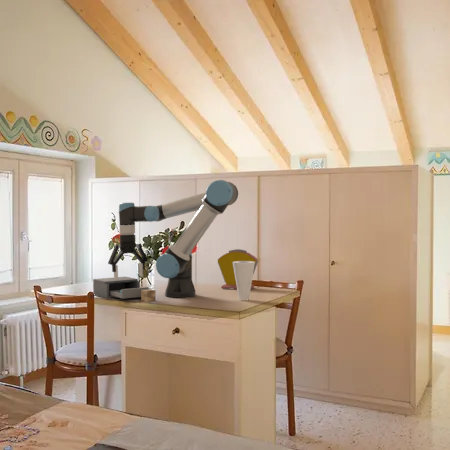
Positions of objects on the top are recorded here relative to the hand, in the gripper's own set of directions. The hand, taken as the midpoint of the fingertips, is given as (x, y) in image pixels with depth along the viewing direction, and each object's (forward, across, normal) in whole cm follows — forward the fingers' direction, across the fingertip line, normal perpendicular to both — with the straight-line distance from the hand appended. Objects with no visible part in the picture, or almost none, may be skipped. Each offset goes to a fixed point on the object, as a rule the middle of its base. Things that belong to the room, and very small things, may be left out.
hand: (128, 277), depth 268 cm
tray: (+9, 0, 0) cm, 9 cm away
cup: (+12, -40, +40) cm, 57 cm away
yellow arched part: (+11, -63, +6) cm, 64 cm away
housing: (+10, 0, -13) cm, 17 cm away
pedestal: (+10, -3, +14) cm, 17 cm away
